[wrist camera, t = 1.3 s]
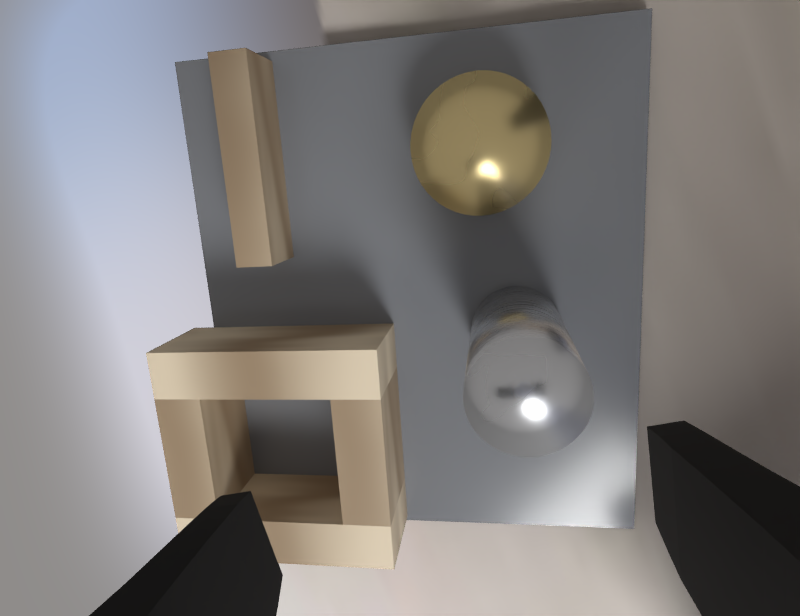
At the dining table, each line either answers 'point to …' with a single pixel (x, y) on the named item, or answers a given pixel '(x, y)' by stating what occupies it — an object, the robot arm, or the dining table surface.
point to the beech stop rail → (251, 156)
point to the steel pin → (524, 375)
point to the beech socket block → (289, 380)
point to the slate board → (450, 253)
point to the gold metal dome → (480, 142)
